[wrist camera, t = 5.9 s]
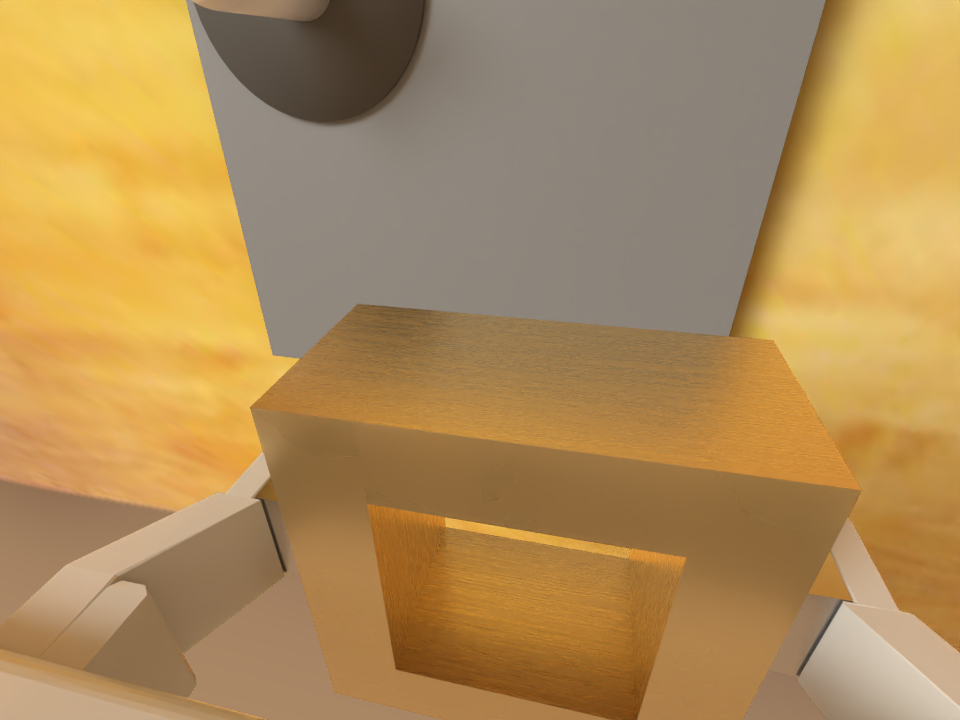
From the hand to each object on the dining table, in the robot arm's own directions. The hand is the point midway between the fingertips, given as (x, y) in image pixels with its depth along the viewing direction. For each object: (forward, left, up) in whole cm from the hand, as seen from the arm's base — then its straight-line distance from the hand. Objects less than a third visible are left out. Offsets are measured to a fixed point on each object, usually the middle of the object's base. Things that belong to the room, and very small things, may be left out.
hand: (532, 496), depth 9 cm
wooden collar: (0, 0, -1) cm, 1 cm away
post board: (+4, -4, -15) cm, 16 cm away
